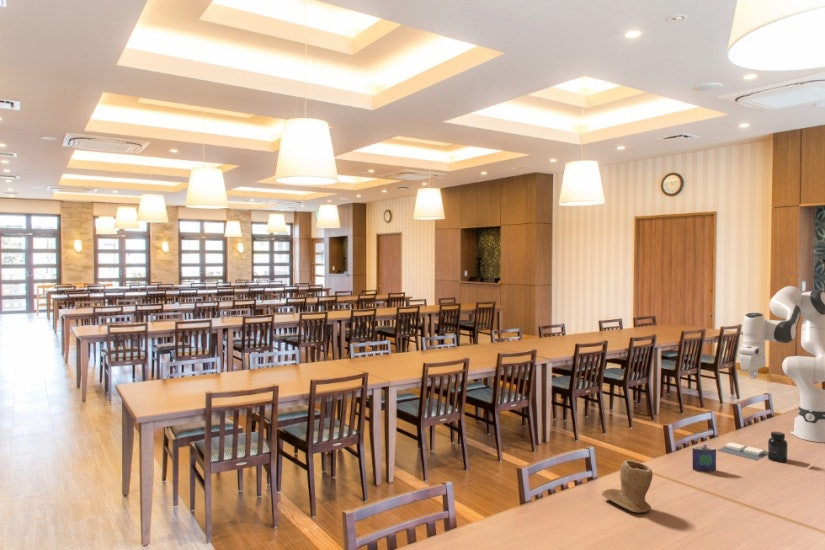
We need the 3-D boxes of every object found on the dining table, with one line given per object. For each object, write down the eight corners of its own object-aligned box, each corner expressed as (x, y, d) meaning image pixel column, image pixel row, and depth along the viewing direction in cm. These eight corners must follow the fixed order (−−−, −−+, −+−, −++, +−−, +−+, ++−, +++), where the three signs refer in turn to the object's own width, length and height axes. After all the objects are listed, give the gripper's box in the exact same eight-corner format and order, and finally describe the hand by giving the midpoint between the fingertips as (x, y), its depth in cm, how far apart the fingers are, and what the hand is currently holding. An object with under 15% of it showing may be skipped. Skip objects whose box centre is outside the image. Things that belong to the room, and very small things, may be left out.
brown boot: (660, 511, 184) (660, 467, 184) (633, 517, 179) (634, 472, 179) (626, 494, 198) (626, 452, 198) (600, 499, 193) (601, 457, 193)
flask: (714, 469, 222) (714, 443, 222) (718, 471, 219) (718, 445, 219) (691, 468, 223) (691, 442, 222) (694, 471, 220) (694, 445, 220)
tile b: (730, 442, 250) (725, 444, 246) (745, 445, 245) (739, 448, 241) (730, 445, 250) (725, 448, 246) (744, 448, 245) (739, 451, 241)
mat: (731, 444, 253) (731, 443, 253) (770, 453, 240) (770, 452, 240) (716, 451, 243) (716, 450, 243) (757, 462, 230) (757, 460, 230)
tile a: (748, 446, 244) (743, 449, 240) (763, 450, 239) (758, 452, 235) (748, 449, 244) (743, 452, 240) (763, 453, 239) (758, 456, 235)
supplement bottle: (791, 464, 228) (791, 435, 228) (774, 463, 228) (774, 435, 228) (780, 458, 235) (780, 430, 235) (764, 458, 235) (764, 430, 235)
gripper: (754, 345, 259) (754, 374, 259) (737, 349, 246) (737, 380, 246) (769, 347, 254) (769, 376, 254) (753, 351, 241) (752, 382, 241)
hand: (753, 378), depth 250 cm, fingers closed
